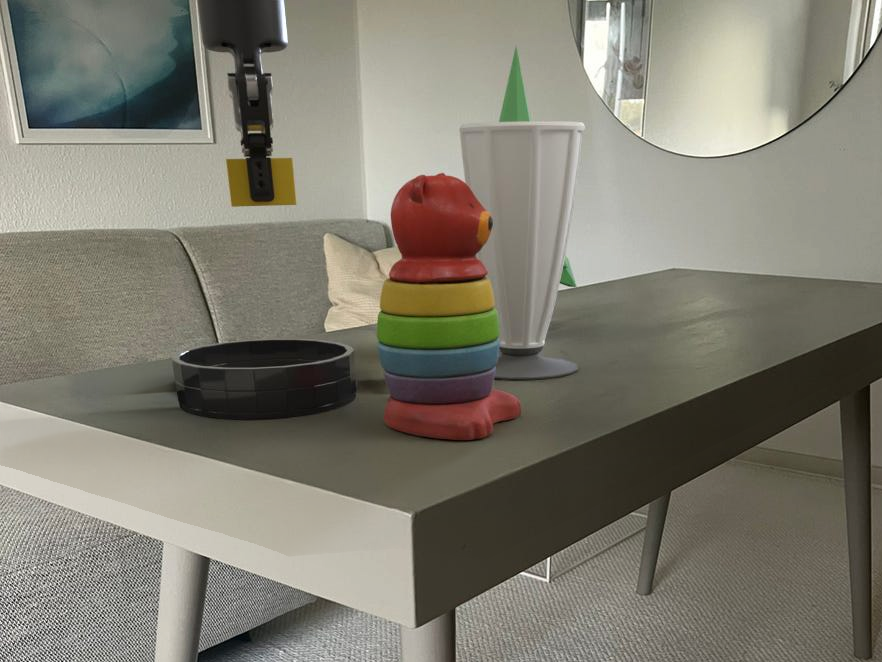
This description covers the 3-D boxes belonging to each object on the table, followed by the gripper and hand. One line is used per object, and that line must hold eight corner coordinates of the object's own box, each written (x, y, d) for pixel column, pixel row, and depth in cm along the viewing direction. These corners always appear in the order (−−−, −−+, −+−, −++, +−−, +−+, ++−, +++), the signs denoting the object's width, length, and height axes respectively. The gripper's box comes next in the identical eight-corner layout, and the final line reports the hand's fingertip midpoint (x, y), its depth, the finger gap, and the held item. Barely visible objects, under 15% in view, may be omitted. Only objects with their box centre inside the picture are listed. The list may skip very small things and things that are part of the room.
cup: (592, 377, 94) (602, 120, 84) (473, 383, 92) (470, 121, 83) (561, 356, 104) (567, 125, 95) (454, 361, 102) (448, 126, 93)
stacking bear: (480, 443, 72) (477, 172, 64) (356, 433, 75) (339, 174, 67) (528, 412, 81) (530, 171, 73) (415, 403, 84) (406, 173, 76)
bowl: (177, 424, 78) (169, 373, 76) (181, 388, 92) (175, 343, 90) (367, 412, 81) (364, 362, 80) (344, 378, 95) (341, 335, 93)
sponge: (231, 206, 92) (226, 159, 90) (231, 205, 96) (226, 159, 94) (296, 204, 93) (292, 157, 91) (294, 203, 97) (289, 158, 95)
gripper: (197, -1, 92) (222, 199, 100) (193, -28, 80) (221, 204, 87) (279, 0, 94) (297, 197, 101) (287, -26, 81) (307, 202, 89)
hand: (262, 199), depth 94 cm, fingers closed on sponge, 4 cm apart
